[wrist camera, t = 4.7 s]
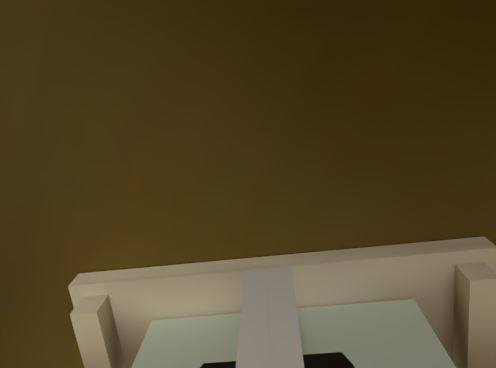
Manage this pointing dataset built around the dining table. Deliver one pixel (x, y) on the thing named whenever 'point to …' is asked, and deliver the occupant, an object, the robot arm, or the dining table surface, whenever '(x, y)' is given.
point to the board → (298, 294)
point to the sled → (306, 337)
